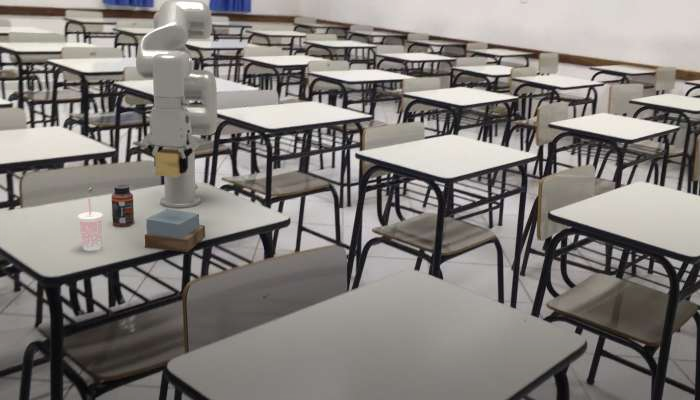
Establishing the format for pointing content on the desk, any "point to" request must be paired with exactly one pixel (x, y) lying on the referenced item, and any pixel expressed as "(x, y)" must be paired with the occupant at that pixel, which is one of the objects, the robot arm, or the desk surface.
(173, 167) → the ochre cube
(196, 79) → the robot arm
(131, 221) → the supplement bottle
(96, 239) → the beverage cup
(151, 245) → the tower base
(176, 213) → the tower top
